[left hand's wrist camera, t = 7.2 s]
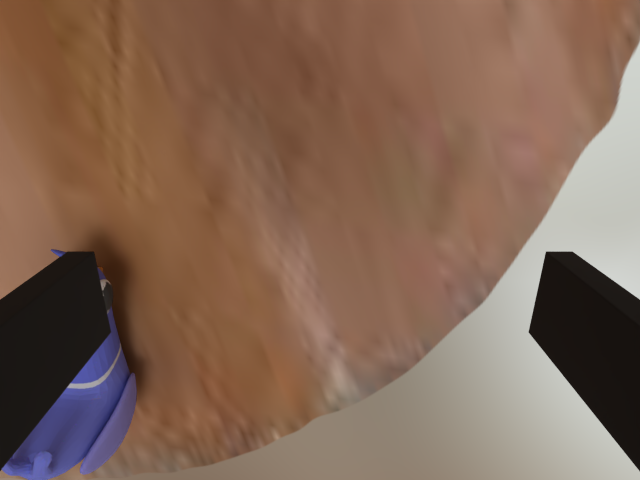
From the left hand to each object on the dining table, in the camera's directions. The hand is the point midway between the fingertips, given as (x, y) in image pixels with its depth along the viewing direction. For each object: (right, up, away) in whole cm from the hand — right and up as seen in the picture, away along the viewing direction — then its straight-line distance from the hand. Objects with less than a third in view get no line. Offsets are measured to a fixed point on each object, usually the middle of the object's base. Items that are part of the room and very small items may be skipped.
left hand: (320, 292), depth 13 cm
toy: (-23, -8, +33) cm, 41 cm away
